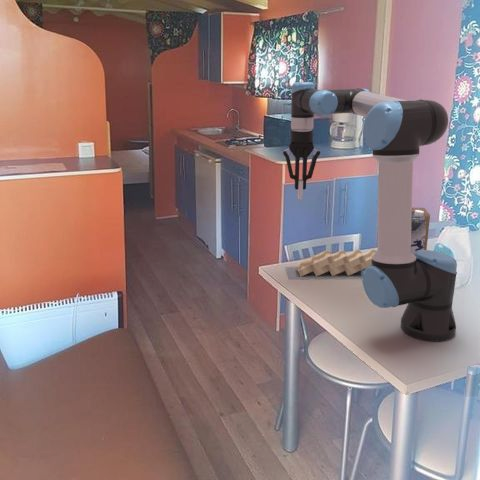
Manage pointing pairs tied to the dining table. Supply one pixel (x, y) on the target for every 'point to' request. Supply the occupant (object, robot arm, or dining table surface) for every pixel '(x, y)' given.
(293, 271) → the mat
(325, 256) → the tile
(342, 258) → the tile
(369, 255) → the tile
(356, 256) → the tile
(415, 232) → the juice carton
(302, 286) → the dining table surface
